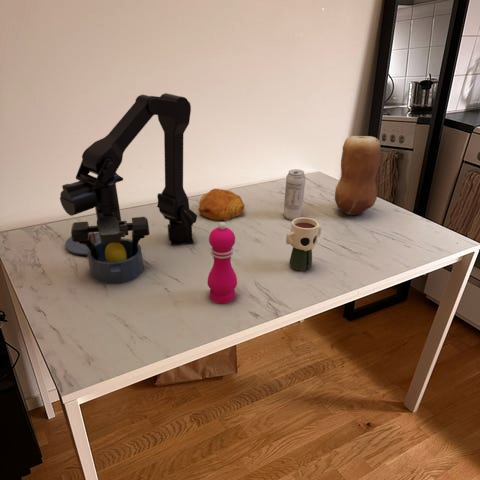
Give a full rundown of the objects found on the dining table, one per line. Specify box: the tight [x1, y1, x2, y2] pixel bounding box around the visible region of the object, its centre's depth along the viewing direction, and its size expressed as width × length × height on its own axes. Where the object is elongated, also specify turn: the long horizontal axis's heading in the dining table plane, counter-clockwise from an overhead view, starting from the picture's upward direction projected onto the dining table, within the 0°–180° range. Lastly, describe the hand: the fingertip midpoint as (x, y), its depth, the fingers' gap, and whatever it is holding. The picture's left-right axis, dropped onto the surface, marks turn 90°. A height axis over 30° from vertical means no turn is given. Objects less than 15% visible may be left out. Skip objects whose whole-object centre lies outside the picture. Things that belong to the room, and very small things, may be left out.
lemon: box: [105, 243, 127, 263], centre depth 120 cm, size 6×6×8 cm
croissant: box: [198, 188, 245, 221], centre depth 151 cm, size 14×16×8 cm
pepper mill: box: [206, 221, 238, 304], centre depth 108 cm, size 7×7×20 cm
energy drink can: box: [282, 168, 307, 221], centre depth 147 cm, size 6×6×15 cm
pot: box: [86, 238, 144, 285], centre depth 121 cm, size 14×19×6 cm
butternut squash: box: [334, 135, 382, 216], centre depth 147 cm, size 14×13×25 cm
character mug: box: [285, 216, 322, 271], centre depth 122 cm, size 11×7×13 cm, turn 119°
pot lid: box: [64, 233, 101, 256], centre depth 132 cm, size 15×15×5 cm
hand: (115, 258), depth 121 cm, fingers open, 9 cm apart
